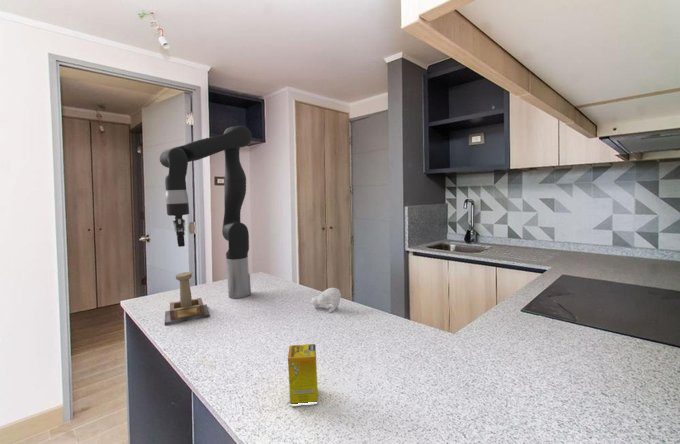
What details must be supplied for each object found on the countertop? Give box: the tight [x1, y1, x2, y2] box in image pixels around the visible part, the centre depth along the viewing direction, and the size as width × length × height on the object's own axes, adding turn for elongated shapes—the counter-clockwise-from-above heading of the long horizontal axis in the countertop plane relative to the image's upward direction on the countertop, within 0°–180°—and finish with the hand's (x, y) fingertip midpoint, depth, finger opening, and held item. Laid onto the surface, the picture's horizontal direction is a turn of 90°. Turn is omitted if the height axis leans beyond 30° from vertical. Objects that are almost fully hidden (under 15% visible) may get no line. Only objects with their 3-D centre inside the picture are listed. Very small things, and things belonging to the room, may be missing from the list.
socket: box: [164, 297, 211, 326], centre depth 125 cm, size 15×13×4 cm
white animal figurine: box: [311, 287, 342, 313], centre depth 127 cm, size 6×8×12 cm
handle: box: [175, 271, 193, 308], centre depth 124 cm, size 5×6×15 cm
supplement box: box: [287, 343, 319, 404], centre depth 72 cm, size 6×6×11 cm
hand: (181, 245), depth 125 cm, fingers open, 8 cm apart
